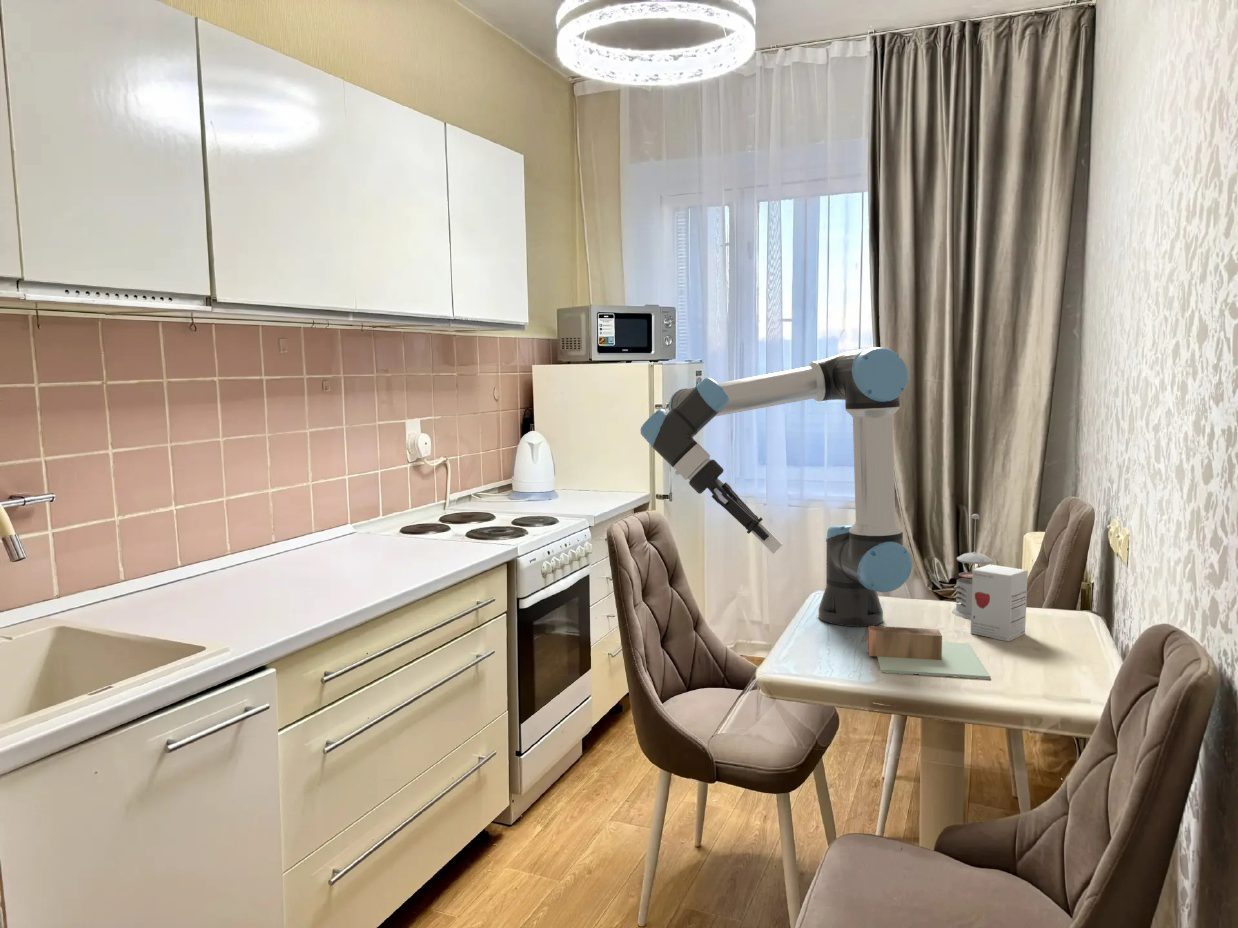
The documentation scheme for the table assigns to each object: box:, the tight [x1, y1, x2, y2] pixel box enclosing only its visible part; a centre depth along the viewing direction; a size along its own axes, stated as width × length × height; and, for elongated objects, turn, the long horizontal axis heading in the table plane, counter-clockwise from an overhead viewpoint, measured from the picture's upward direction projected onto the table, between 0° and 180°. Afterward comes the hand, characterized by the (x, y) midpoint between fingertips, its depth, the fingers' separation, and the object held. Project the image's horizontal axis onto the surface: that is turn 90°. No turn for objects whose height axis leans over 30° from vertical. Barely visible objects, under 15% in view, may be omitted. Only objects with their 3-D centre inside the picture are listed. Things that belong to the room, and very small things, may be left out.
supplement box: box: [970, 563, 1029, 642], centre depth 190 cm, size 9×9×15 cm
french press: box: [951, 513, 993, 619], centre depth 206 cm, size 10×12×25 cm
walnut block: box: [867, 625, 943, 660], centre depth 174 cm, size 5×5×14 cm
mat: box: [876, 641, 992, 680], centre depth 173 cm, size 22×20×1 cm
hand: (777, 548), depth 178 cm, fingers closed
